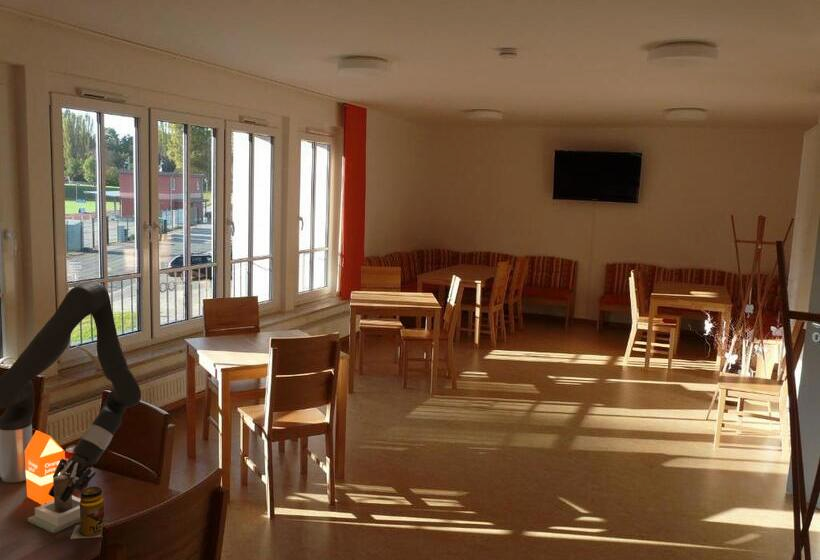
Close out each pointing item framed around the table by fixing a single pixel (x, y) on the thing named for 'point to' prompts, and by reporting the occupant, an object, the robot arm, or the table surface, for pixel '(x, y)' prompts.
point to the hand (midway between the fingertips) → (56, 498)
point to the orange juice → (41, 466)
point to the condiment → (90, 514)
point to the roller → (59, 486)
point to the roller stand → (56, 516)
